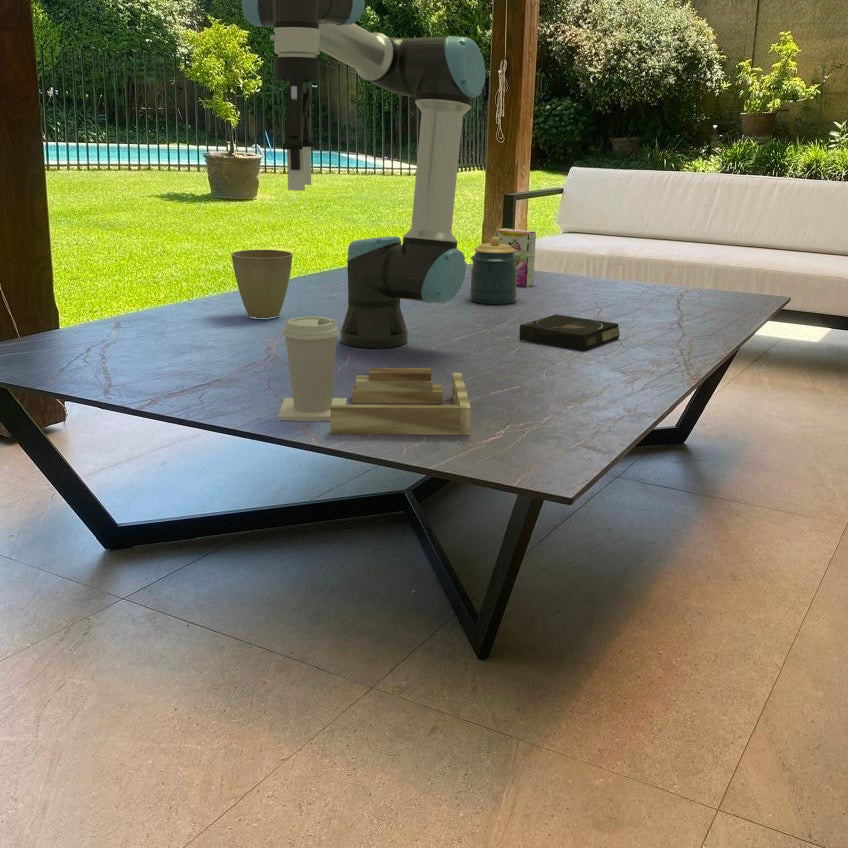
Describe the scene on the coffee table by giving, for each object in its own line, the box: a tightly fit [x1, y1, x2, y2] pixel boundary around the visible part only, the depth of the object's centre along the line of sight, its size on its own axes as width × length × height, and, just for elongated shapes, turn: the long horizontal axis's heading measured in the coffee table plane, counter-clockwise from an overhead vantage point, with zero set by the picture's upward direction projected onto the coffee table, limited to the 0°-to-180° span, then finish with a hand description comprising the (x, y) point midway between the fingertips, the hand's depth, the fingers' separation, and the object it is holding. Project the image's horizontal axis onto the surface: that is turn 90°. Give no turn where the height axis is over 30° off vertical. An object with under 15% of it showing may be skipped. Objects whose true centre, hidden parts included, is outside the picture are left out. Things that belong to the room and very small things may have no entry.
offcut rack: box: [329, 372, 472, 436], centre depth 166 cm, size 22×22×4 cm
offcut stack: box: [351, 367, 444, 405], centre depth 175 cm, size 4×16×5 cm, turn 92°
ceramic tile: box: [277, 397, 348, 422], centre depth 168 cm, size 11×11×1 cm
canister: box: [469, 236, 518, 305], centre depth 267 cm, size 13×13×18 cm
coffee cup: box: [282, 316, 341, 412], centre depth 165 cm, size 10×10×15 cm
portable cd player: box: [518, 313, 621, 352], centre depth 224 cm, size 16×17×4 cm
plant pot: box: [230, 249, 294, 318], centre depth 242 cm, size 15×15×16 cm
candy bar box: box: [496, 228, 537, 288], centre depth 293 cm, size 11×5×16 cm, turn 58°
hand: (300, 187), depth 169 cm, fingers open, 13 cm apart
